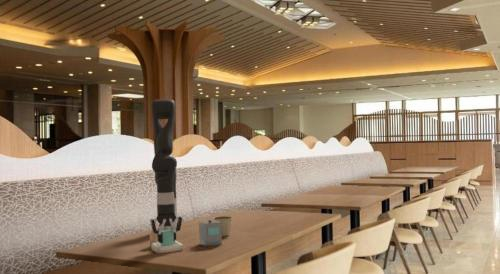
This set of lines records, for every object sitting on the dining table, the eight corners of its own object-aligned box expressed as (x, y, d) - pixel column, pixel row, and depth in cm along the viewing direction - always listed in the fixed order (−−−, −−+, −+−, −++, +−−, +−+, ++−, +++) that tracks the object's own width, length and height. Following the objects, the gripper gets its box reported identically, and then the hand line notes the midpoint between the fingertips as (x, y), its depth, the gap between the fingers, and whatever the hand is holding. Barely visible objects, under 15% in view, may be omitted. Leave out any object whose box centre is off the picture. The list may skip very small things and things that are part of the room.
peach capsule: (148, 246, 230) (148, 231, 230) (158, 245, 232) (158, 229, 232) (151, 248, 226) (150, 232, 226) (161, 247, 228) (160, 231, 228)
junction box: (199, 244, 232) (198, 220, 232) (216, 241, 235) (215, 218, 235) (205, 246, 225) (204, 222, 225) (222, 244, 229) (221, 220, 229)
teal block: (160, 247, 223) (160, 230, 223) (170, 245, 225) (170, 229, 225) (163, 248, 219) (163, 232, 219) (173, 247, 221) (173, 231, 221)
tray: (151, 248, 225) (151, 243, 225) (175, 245, 229) (175, 240, 229) (158, 253, 215) (157, 247, 215) (183, 250, 219) (183, 244, 219)
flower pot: (215, 237, 246) (215, 219, 246) (211, 234, 255) (211, 217, 255) (234, 236, 248) (234, 218, 248) (230, 233, 257) (229, 215, 257)
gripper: (179, 200, 228) (180, 238, 228) (147, 203, 222) (148, 242, 222) (184, 202, 222) (185, 241, 222) (151, 204, 216) (152, 245, 216)
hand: (167, 241), depth 222 cm, fingers open, 5 cm apart
